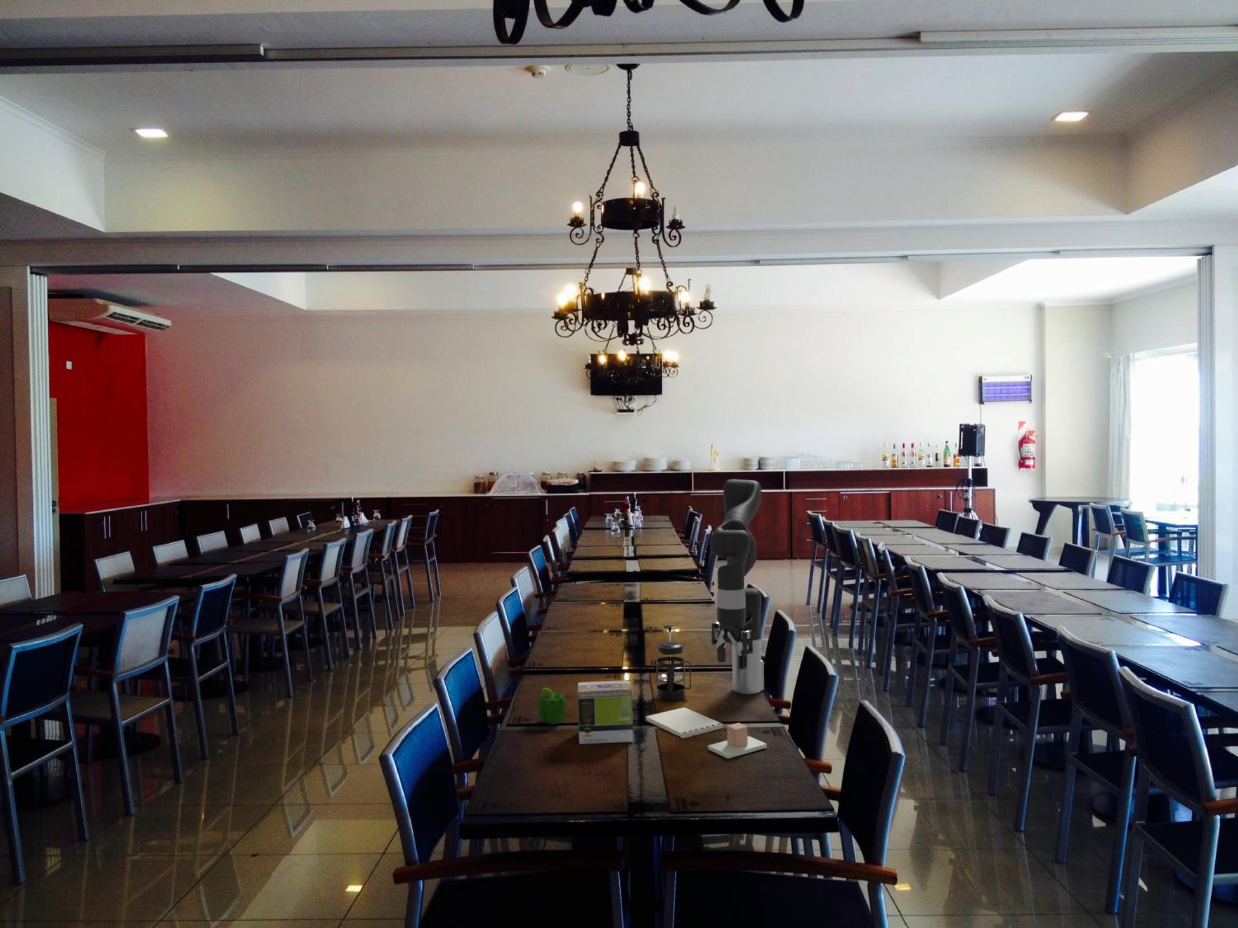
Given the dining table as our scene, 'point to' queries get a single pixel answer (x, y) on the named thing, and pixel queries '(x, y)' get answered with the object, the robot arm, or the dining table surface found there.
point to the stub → (737, 742)
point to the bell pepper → (551, 707)
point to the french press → (671, 671)
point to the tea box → (605, 712)
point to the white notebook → (684, 722)
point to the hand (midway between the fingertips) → (732, 665)
